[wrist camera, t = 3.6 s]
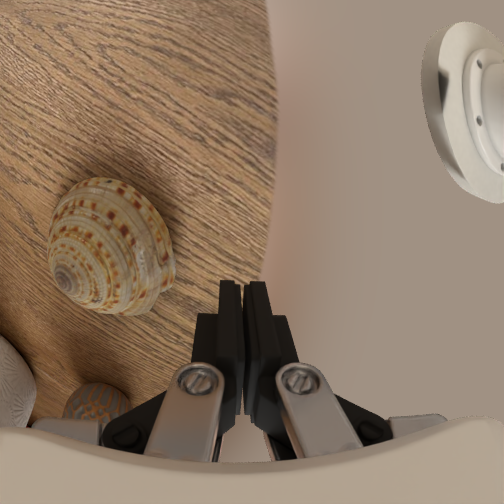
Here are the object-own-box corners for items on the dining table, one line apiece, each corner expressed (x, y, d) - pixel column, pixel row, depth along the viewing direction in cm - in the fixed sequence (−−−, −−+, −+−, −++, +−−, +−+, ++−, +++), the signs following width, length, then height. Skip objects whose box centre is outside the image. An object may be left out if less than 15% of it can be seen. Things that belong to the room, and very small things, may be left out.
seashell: (172, 338, 15) (42, 336, 11) (156, 285, 20) (54, 281, 16) (197, 205, 12) (27, 190, 8) (174, 177, 17) (54, 165, 13)
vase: (155, 402, 21) (141, 484, 13) (122, 420, 23) (106, 486, 15) (93, 361, 19) (58, 443, 11) (68, 385, 21) (41, 452, 13)
